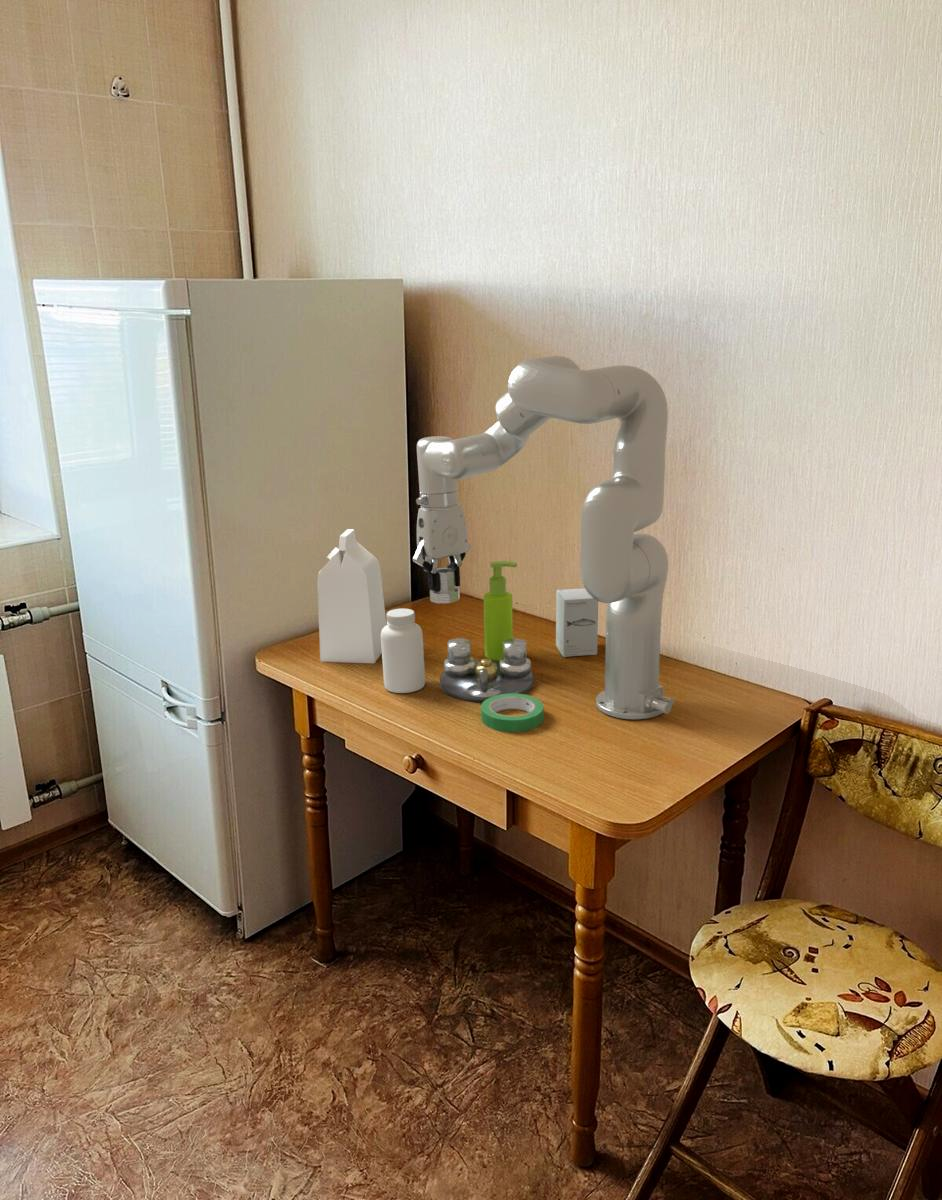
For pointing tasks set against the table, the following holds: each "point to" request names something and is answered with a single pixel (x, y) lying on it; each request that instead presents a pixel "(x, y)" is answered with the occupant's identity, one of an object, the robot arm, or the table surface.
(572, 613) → the supplement box
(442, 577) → the octagonal collar pipe
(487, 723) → the tape roll
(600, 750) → the table surface
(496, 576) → the soap dispenser
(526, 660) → the carrier
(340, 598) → the milk
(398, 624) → the pill bottle
